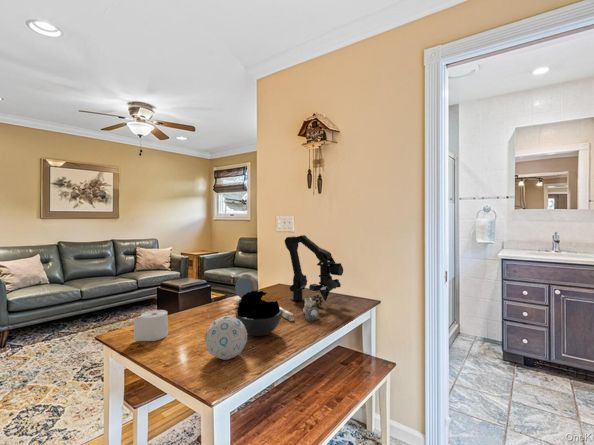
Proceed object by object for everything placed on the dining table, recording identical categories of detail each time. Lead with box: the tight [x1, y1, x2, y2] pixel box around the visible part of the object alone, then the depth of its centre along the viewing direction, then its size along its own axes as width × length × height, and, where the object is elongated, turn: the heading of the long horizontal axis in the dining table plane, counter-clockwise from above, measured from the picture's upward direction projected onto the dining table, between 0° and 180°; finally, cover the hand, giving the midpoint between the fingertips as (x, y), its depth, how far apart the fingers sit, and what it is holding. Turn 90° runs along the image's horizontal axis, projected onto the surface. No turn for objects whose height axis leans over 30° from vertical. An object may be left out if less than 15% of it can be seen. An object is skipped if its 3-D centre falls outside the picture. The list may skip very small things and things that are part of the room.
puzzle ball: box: [204, 315, 248, 361], centre depth 112 cm, size 15×15×15 cm
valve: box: [303, 294, 324, 308], centre depth 170 cm, size 7×7×12 cm
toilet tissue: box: [133, 309, 169, 342], centre depth 131 cm, size 11×12×10 cm
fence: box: [279, 306, 295, 322], centre depth 158 cm, size 18×2×3 cm, turn 32°
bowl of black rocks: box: [235, 290, 283, 337], centre depth 133 cm, size 20×20×19 cm
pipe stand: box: [302, 305, 320, 322], centre depth 153 cm, size 8×6×6 cm
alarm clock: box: [233, 273, 259, 306], centre depth 179 cm, size 14×10×18 cm
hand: (325, 300), depth 175 cm, fingers closed
